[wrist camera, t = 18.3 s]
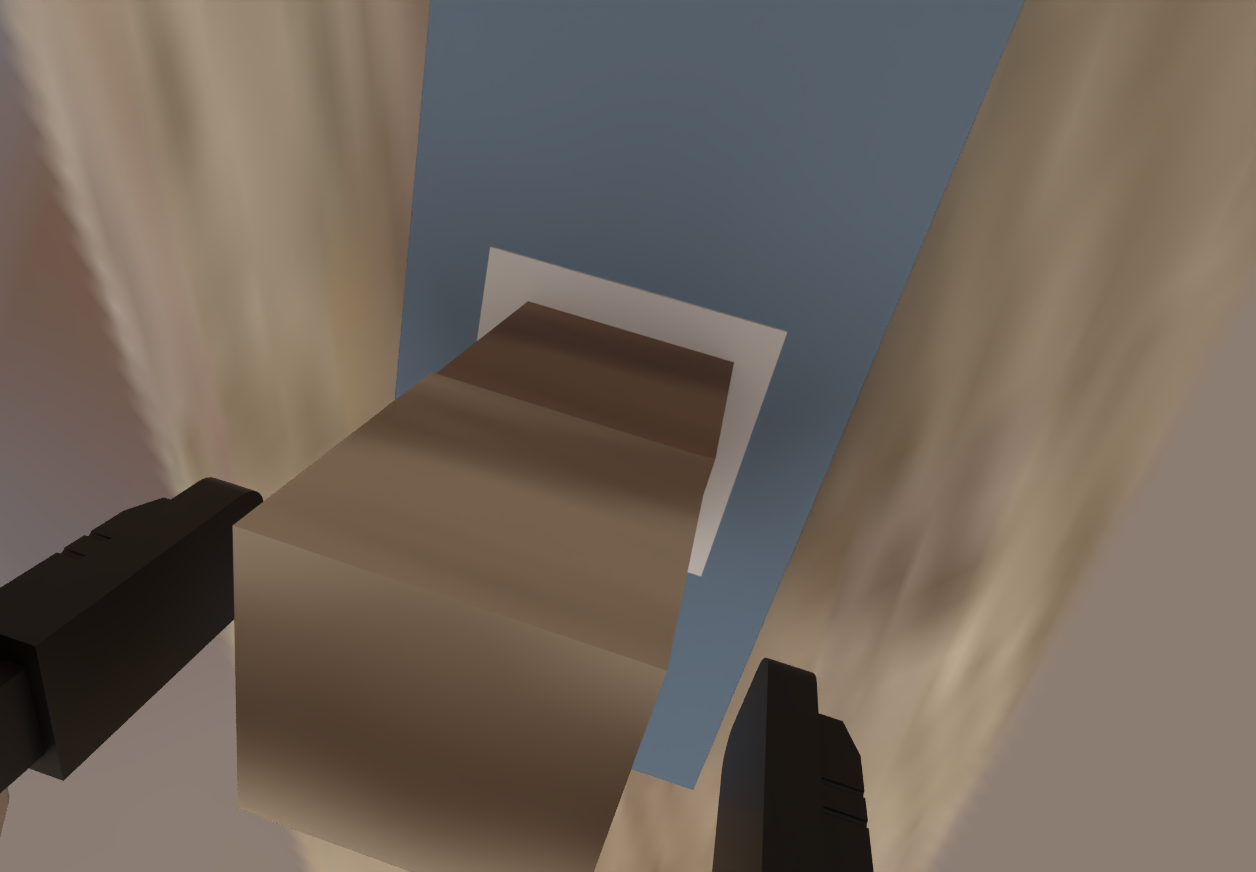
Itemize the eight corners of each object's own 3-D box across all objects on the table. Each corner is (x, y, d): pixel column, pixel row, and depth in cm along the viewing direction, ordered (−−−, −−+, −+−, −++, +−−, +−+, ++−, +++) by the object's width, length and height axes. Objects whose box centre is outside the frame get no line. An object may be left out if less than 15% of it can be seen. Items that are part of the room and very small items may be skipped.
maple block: (431, 372, 12) (232, 525, 8) (710, 459, 12) (666, 670, 8) (404, 593, 15) (238, 808, 10) (638, 671, 14) (572, 930, 10)
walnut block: (528, 301, 17) (435, 373, 12) (734, 362, 16) (715, 459, 12) (496, 479, 19) (408, 594, 15) (676, 536, 19) (643, 672, 14)
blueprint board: (471, -197, 14) (447, -220, 13) (1036, -62, 13) (1057, -74, 12) (384, 659, 24) (368, 682, 23) (696, 763, 24) (692, 792, 23)
